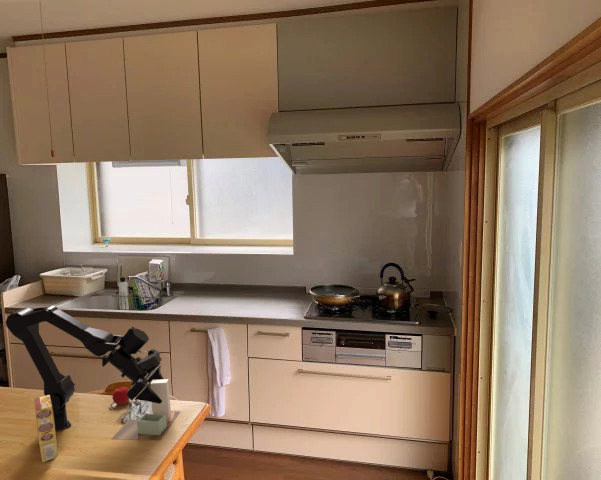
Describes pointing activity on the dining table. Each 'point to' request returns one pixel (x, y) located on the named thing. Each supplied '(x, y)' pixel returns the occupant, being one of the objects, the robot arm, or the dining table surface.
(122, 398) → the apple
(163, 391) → the tall beige block
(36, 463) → the dining table surface
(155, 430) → the slot box
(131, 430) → the walnut board
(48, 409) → the candy box
